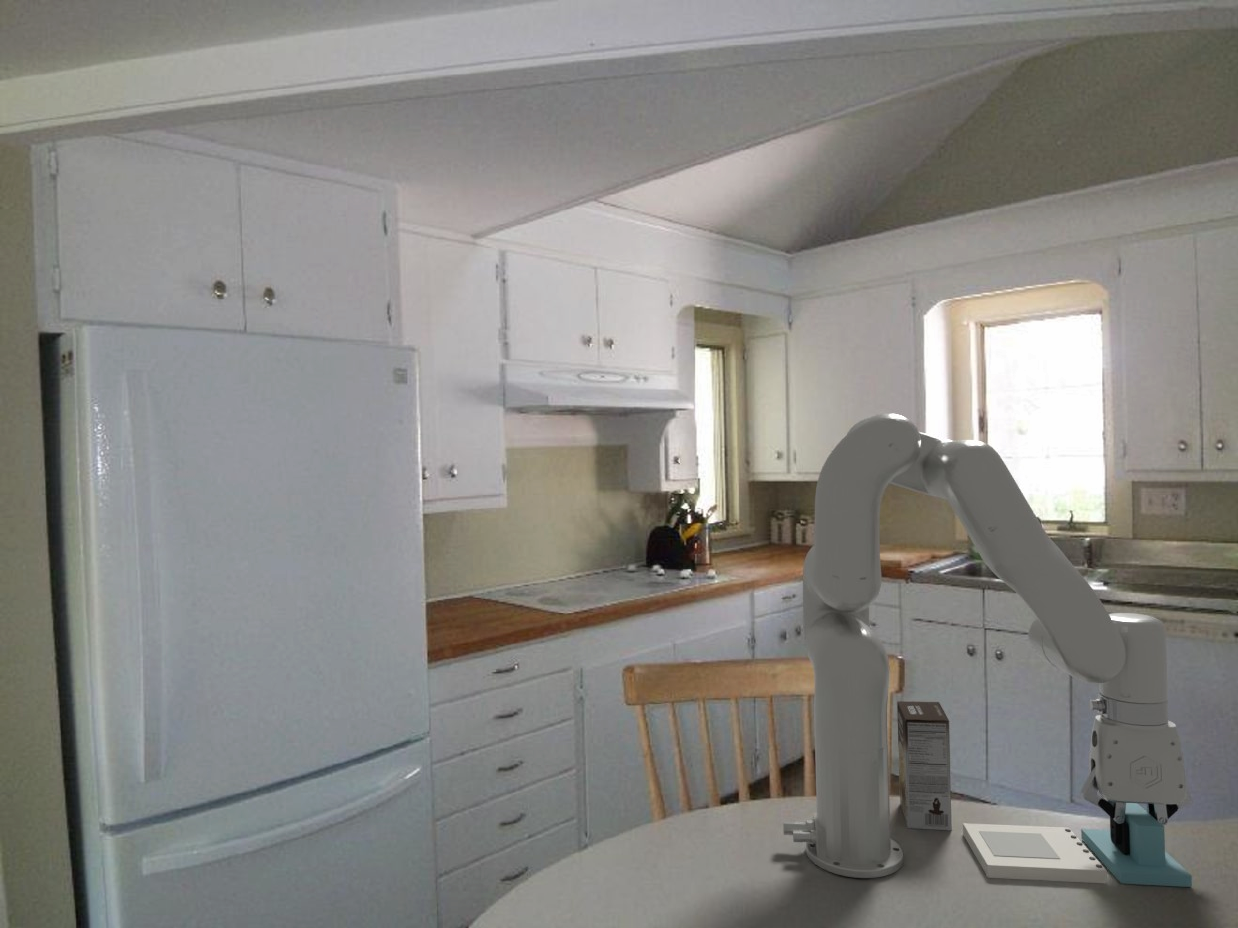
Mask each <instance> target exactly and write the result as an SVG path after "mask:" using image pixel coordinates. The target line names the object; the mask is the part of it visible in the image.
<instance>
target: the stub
mask: <svg viewBox="0 0 1238 928" xmlns="http://www.w3.org/2000/svg"><path fill="white" fill-rule="evenodd" d="M1125 822H1126V823H1127V824H1128V825H1129V838H1130V854H1129V855H1124V854H1123V853H1122V852H1121V851H1120V850H1119V849H1118V848H1117V847H1116V846H1115V845H1114V844H1113V843H1112V841H1111V837H1110V829H1094V828H1081V829H1080V831H1081V832H1080V833H1081V840H1082V842H1084V844H1085V845H1087V846H1086V847H1087V848H1089V850H1091V851H1092V852H1093V853H1094V855H1095V857H1097V859H1099V860H1100V861H1101V862H1102V864H1103V865H1104V866H1105V867H1106V868H1107V869H1108V871H1109V872H1111V874H1112V875H1113V876H1114V877H1115V879H1116V880H1118V882H1119V883H1120V884H1124V885H1125V884H1126V885H1142V886H1144V885H1147V886H1163V887H1165V886H1166V887H1167V886H1168V887H1184V888H1186V887H1187V888H1191V887H1192V888H1193V881H1192V874H1190V873H1189V872H1188V871H1187V870H1186V868H1184V867H1183V866H1182V865H1181V864H1180V863H1179V862H1178V861H1177V860H1176V859H1174V858H1173V857H1172V856H1171V855H1170V854H1169V853H1168V852H1167V851H1166V846H1165V845H1166V843H1165V841H1166V839H1165V835H1166V834H1165V825H1162V824H1161V823H1159V822H1158V821H1157V820H1156V819H1155V818H1154V817H1153V816H1151V815H1150V814H1149V813H1148V811H1147V810H1146V809H1145V808H1143V807H1142V806H1141V805H1140V803H1126V811H1125Z"/></svg>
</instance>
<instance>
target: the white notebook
mask: <svg viewBox="0 0 1238 928" xmlns="http://www.w3.org/2000/svg"><path fill="white" fill-rule="evenodd" d="M962 835H963V836H964V839H965V840H966V842H967V844H968V846H969V847H970V849H971V851H972V852H973V855H974V856H975V858H976V859H977V861H978V862H979V864H980V866H981V867H982V868H981V869H982V870H983V871H984V873H985V875H986V877H987V878H991V879H1007V880H1008V879H1010V880H1029V881H1030V880H1031V881H1048V882H1051V881H1052V882H1069V883H1070V882H1071V883H1072V882H1073V883H1088V884H1089V883H1090V884H1092V883H1093V884H1108V870H1107V869H1106V868H1105V867H1104V866H1103V865H1102V863H1101V862H1100V861H1099V860H1098V858H1096V856H1094V854H1093V853H1092V852H1091V851H1090V849H1088V847H1087V846H1086V844H1085V843H1083V841H1081V840H1080V838H1079V837H1078V836H1077V835H1076V834H1075V832H1073V831H1072V830H1071V828H1070V827H1064V826H1063V827H1062V826H1039V825H1035V826H1034V825H1016V824H1015V825H1012V824H1011V825H1010V824H990V823H989V824H988V823H987V824H986V823H967V822H966V823H965V822H963V823H962Z"/></svg>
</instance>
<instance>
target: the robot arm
mask: <svg viewBox="0 0 1238 928" xmlns="http://www.w3.org/2000/svg"><path fill="white" fill-rule="evenodd" d="M816 483H817V484H816V489H815V497H814V498H815V499H814V524H813V525H814V531H813V532H814V533H813V537H814V538H813V539H814V540H813V544H814V545H812V546H811V548H810V549H809V550H808V552H807V554H806V556H805V559H804V562H803V568H802V601H803V602H802V611H803V612H802V613H803V614H802V616H803V617H802V619H803V643H804V647H805V652H806V654H807V657H808V659H809V661H810V663H811V665H812V667H813V674H814V697H813V698H814V700H813V724H814V725H813V731H814V732H813V733H814V748H815V749H814V754H815V756H814V757H815V758H814V759H815V789H816V791H815V793H816V811H814V812H812V818H805V821H797V820H793V819H791V820H789V819H783V820H782V826H783V828H782V831H783V836H792V841H793V842H794V843H805V851H806V852H805V853H806V855H807V858H809V860H810V861H811V862H812V863H814V864H815V865H816V866H817V867H820V869H823V870H824V871H827V872H829V873H833V874H835V875H839V876H843V877H848V878H855V879H875V878H880V877H881V878H883V877H885V876H889V875H892V874H894V873H896V872H897V871H898V870H900V869H901V868H902V866H903V864H904V851H903V848H902V847H901V845H899V843H897V842H896V841H895V840H893V839H892V838H891V816H890V815H891V813H890V812H891V811H890V805H891V804H890V777H889V776H890V775H889V774H890V773H889V769H890V768H889V743H888V738H889V737H888V702H889V688H890V677H891V676H890V675H891V674H890V670H891V669H890V661H889V657H888V652H887V650H886V647H885V646H884V644H883V642H882V641H881V639H880V637H879V636H878V635H877V634H876V633H875V631H874V630H873V629H871V628H870V606H871V605H872V604H873V603H874V602H875V601H876V600H877V598H878V596H879V593H880V590H881V587H882V568H881V547H880V546H881V544H880V541H881V540H880V519H881V518H880V516H881V504H882V503H881V502H882V498H883V495H884V493H885V490H886V489H887V488H888V485H891V484H892V485H894V486H898V487H899V488H905V489H907V490H910V491H913V492H915V493H920V494H924V495H926V496H927V495H928V496H932V497H935V498H939V499H943V500H947V502H948V503H949V505H950V507H951V509H952V510H953V512H954V514H955V515H956V516H957V518H958V520H959V522H960V523H961V525H962V527H963V528H964V531H966V533H967V535H968V537H969V539H970V540H971V542H972V544H973V546H974V547H975V549H976V551H977V553H978V554H979V556H980V558H981V559H982V561H983V562H984V563H985V565H986V566H987V567H988V568H989V569H990V570H991V572H992V573H993V574H994V575H995V576H996V577H997V578H998V579H999V580H1001V582H1003V583H1004V584H1006V585H1007V586H1008V587H1009V588H1010V589H1012V590H1013V592H1015V593H1016V594H1017V595H1018V596H1019V597H1020V598H1021V599H1022V600H1023V601H1024V602H1025V603H1026V604H1027V606H1028V607H1029V608H1030V610H1031V611H1032V612H1033V614H1034V616H1036V618H1035V619H1034V620H1033V621H1032V623H1031V624H1030V627H1029V629H1028V640H1029V644H1030V646H1031V648H1032V649H1033V652H1034V653H1035V654H1036V655H1037V656H1038V657H1039V658H1040V659H1041V660H1043V661H1044V662H1046V663H1047V664H1049V665H1051V666H1053V667H1055V668H1056V669H1058V670H1061V671H1062V672H1064V673H1065V674H1067V675H1070V676H1071V677H1072V678H1074V679H1076V680H1078V681H1081V682H1084V683H1086V684H1088V683H1089V684H1099V687H1098V688H1099V692H1098V693H1097V698H1096V699H1095V698H1094V699H1092V700H1091V699H1090V700H1088V708H1089V710H1090V711H1096V712H1097V713H1099V714H1097V715H1095V718H1094V721H1093V725H1092V731H1091V736H1090V744H1089V759H1088V777H1087V779H1086V781H1084V782H1085V783H1084V784H1083V786H1082V788H1081V789H1080V792H1079V794H1080V796H1081V797H1082V798H1083V799H1084V800H1085V801H1087V802H1089V803H1091V804H1093V805H1094V806H1096V807H1099V808H1100V809H1102V811H1104V812H1105V813H1106V814H1107V815H1108V816H1109V830H1110V837H1111V841H1112V843H1113V844H1114V845H1115V846H1116V847H1117V848H1118V849H1119V850H1120V851H1121V852H1122V853H1123V854H1124V855H1129V854H1130V838H1129V825H1128V824H1127V823H1126V822H1125V811H1126V803H1138V804H1145V805H1146V809H1147V810H1146V811H1147V812H1148V813H1149V814H1150V815H1151V816H1153V817H1154V818H1155V819H1156V820H1157V821H1158V822H1159V823H1161V824H1162V825H1163V826H1166V825H1168V823H1169V819H1170V818H1171V817H1173V815H1175V814H1176V813H1177V812H1178V810H1179V809H1183V808H1185V807H1188V806H1189V805H1192V804H1193V802H1194V799H1193V797H1192V795H1191V793H1190V792H1189V790H1188V789H1187V777H1186V776H1187V775H1186V768H1185V767H1186V766H1185V762H1184V755H1183V749H1182V744H1181V740H1180V739H1181V738H1180V736H1179V731H1178V728H1177V724H1175V723H1174V722H1172V721H1170V720H1169V704H1168V703H1169V700H1168V666H1167V664H1168V663H1167V659H1168V658H1167V657H1168V656H1167V633H1166V627H1165V625H1164V623H1163V622H1162V621H1161V620H1160V619H1159V618H1157V617H1155V616H1152V615H1148V614H1143V613H1142V614H1141V613H1133V612H1132V613H1131V612H1130V613H1129V612H1116V613H1115V612H1114V613H1113V612H1112V613H1108V610H1107V609H1106V607H1105V605H1104V604H1103V602H1102V601H1101V599H1100V598H1099V596H1098V594H1097V593H1096V592H1095V590H1094V588H1092V587H1091V585H1090V584H1089V583H1088V581H1087V580H1086V579H1085V577H1084V576H1083V575H1082V574H1081V572H1080V571H1079V570H1078V569H1077V568H1076V566H1074V564H1073V563H1072V562H1071V561H1070V560H1069V558H1068V557H1067V556H1066V555H1065V553H1064V552H1063V551H1062V550H1061V549H1060V547H1059V546H1058V545H1057V544H1056V543H1055V542H1054V541H1053V539H1051V537H1050V536H1049V535H1048V533H1047V532H1046V530H1045V529H1044V527H1043V526H1042V524H1041V522H1040V521H1039V519H1038V517H1037V516H1036V514H1035V512H1034V510H1033V509H1032V507H1031V505H1030V504H1029V502H1028V500H1027V499H1026V497H1025V494H1023V492H1022V490H1021V489H1020V487H1019V485H1018V484H1017V482H1016V480H1015V478H1014V476H1013V475H1012V473H1011V472H1010V470H1009V469H1008V465H1006V463H1005V461H1004V460H1003V458H1002V457H1001V456H1000V454H999V452H997V451H996V450H995V448H994V447H992V446H991V445H990V444H989V443H986V442H983V441H980V440H975V439H961V440H951V439H947V438H943V437H939V436H934V435H930V434H928V433H924V432H920V431H919V429H918V427H917V426H916V424H915V423H914V422H912V420H910V419H909V418H907V417H905V416H903V415H901V414H897V413H881V414H880V413H879V414H877V415H873V416H870V417H868V418H864V419H862V420H860V421H858V422H857V423H855V424H854V425H853V426H852V427H850V428H849V429H848V431H847V433H846V435H845V436H844V437H843V438H842V439H840V441H839V442H838V443H837V445H836V446H835V447H834V448H833V450H831V452H830V453H829V455H828V457H827V458H826V460H825V461H824V463H823V466H822V468H821V471H820V472H819V476H818V479H817V482H816ZM1098 791H1099V794H1098Z"/></svg>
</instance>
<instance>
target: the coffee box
mask: <svg viewBox="0 0 1238 928" xmlns="http://www.w3.org/2000/svg"><path fill="white" fill-rule="evenodd" d="M896 705H897V706H896V707H897V708H896V709H897V743H898V746H897V747H898V771H899V772H898V777H899V780H898V781H899V802H900V806H901V810H902V812H903V816H904V820H905V823H906V826H907V829H917V830H933V831H934V830H935V831H952V830H953V829H952V828H953V826H952V795H951V794H952V790H951V788H952V787H951V748H950V747H951V745H950V744H951V743H950V739H951V737H950V736H951V735H950V720H949V718H948V716H947V715H946V712H945V710H944V708H943V707H942V705H941V703H940V702H939V701H907V700H905V701H902V700H901V701H897V702H896Z"/></svg>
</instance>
